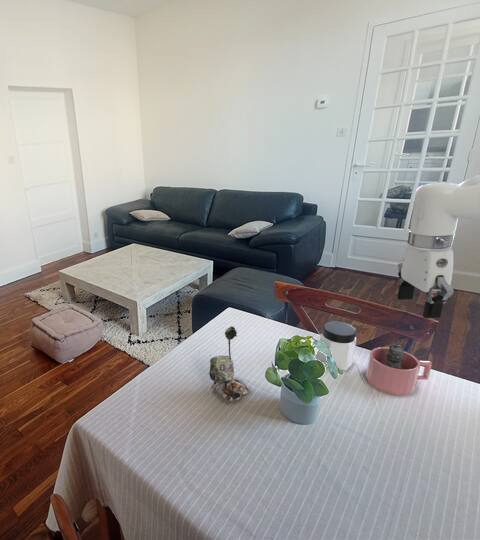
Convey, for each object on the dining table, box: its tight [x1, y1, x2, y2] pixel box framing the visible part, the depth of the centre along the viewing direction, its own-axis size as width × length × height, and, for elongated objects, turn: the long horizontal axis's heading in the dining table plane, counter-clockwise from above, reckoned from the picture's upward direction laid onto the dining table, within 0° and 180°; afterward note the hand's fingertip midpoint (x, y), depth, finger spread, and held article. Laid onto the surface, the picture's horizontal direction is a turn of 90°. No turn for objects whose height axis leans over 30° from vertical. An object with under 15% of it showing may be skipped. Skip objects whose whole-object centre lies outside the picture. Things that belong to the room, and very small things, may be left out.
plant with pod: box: [208, 325, 249, 402], centre depth 91 cm, size 8×11×20 cm
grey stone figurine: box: [381, 341, 405, 370], centre depth 89 cm, size 6×6×12 cm
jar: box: [317, 320, 357, 371], centre depth 99 cm, size 9×8×12 cm
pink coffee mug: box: [365, 346, 433, 396], centre depth 90 cm, size 14×10×8 cm
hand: (417, 307), depth 82 cm, fingers open, 9 cm apart
